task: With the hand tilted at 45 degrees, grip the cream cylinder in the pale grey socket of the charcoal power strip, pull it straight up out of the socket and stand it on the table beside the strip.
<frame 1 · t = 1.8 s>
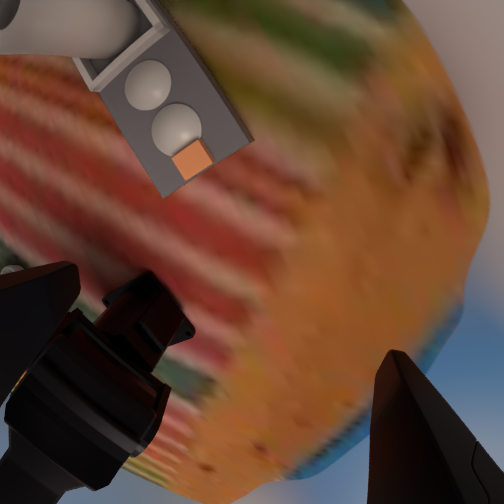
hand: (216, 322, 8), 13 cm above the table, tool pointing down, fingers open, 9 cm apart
cream cylinder: (112, 29, 15), point 2 cm above the table, touching power strip
power strip: (152, 75, 18), on the table
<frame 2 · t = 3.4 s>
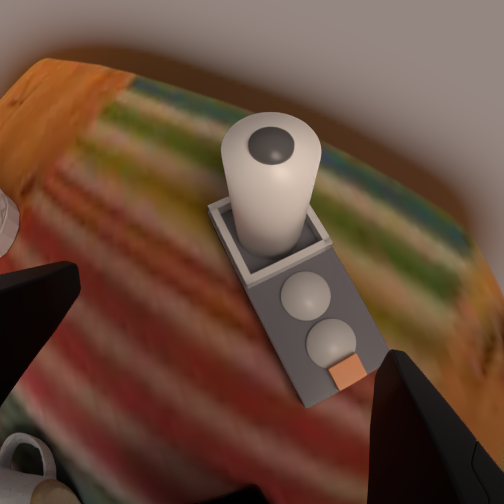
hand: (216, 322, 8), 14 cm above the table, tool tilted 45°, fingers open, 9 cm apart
ceramic mug: (47, 488, 17), on the table
cream cylinder: (269, 229, 22), point 2 cm above the table, touching power strip
power strip: (296, 288, 22), on the table
white cup: (0, 232, 25), on the table
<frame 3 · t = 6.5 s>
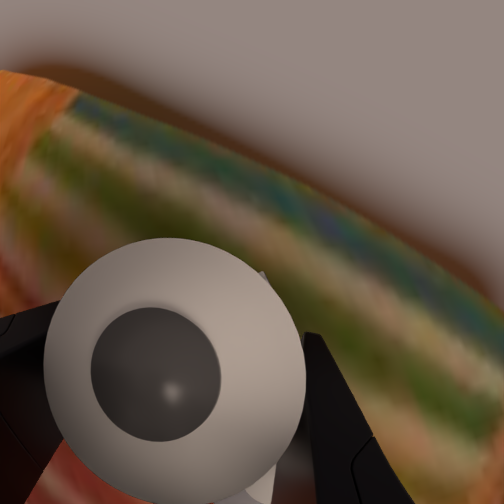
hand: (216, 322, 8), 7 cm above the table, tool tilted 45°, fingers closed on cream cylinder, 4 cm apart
cream cylinder: (227, 371, 13), point 2 cm above the table, touching gripper, power strip
power strip: (269, 448, 13), on the table
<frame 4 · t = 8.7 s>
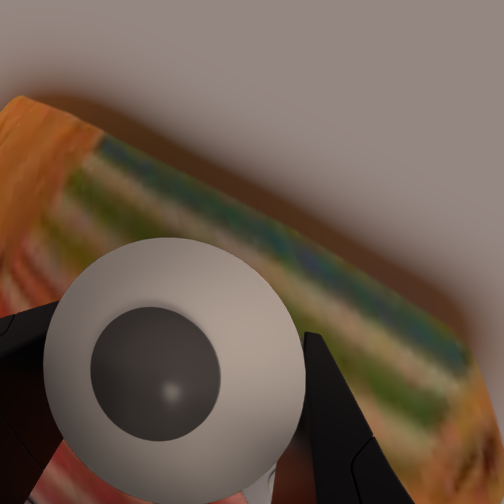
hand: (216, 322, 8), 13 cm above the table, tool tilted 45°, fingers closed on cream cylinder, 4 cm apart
cream cylinder: (227, 371, 13), point 8 cm above the table, touching gripper
power strip: (265, 423, 19), on the table
when the fingers open (7 cm above the table, at t = 11.4 s): cream cylinder drops 1 cm, on the table.
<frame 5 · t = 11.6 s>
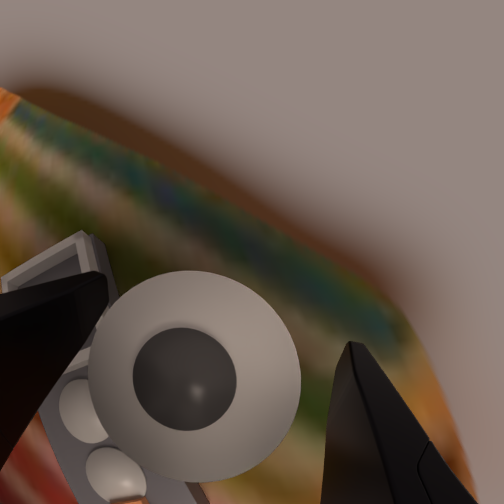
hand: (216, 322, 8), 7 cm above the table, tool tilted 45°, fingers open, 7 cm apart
cream cylinder: (232, 372, 14), on the table
power strip: (94, 391, 14), on the table
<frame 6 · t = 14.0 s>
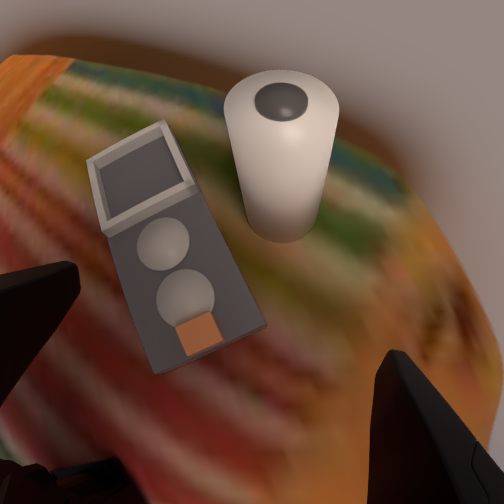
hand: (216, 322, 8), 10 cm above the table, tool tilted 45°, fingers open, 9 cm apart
cream cylinder: (281, 209, 20), on the table
power strip: (166, 239, 20), on the table
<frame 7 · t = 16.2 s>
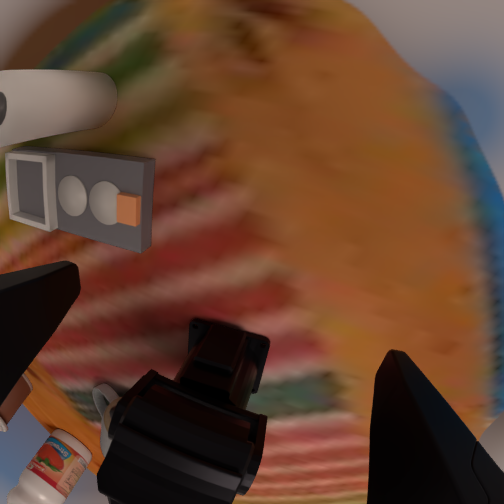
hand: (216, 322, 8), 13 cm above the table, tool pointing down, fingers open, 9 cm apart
coffee cup: (20, 375, 41), on the table
ceramic mug: (136, 407, 34), on the table
cream cylinder: (94, 100, 20), on the table
fruit juice: (74, 442, 47), on the table
power strip: (76, 189, 23), on the table
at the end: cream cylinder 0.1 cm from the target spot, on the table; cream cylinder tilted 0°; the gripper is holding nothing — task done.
